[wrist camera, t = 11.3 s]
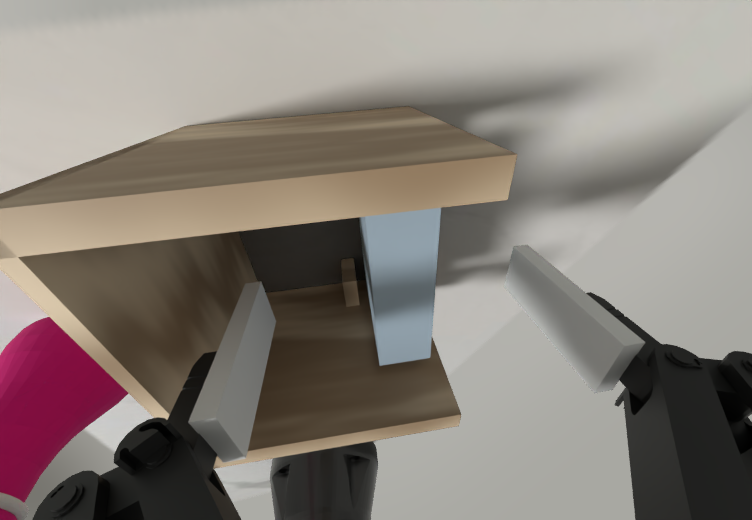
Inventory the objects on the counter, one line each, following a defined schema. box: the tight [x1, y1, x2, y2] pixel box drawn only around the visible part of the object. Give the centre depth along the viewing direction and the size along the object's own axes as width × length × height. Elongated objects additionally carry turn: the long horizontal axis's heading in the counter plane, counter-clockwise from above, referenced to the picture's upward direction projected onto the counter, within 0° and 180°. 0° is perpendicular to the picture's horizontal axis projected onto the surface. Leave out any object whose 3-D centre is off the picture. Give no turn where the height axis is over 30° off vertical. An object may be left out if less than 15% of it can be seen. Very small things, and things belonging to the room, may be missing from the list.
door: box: [359, 208, 441, 366], centre depth 17 cm, size 10×4×9 cm, turn 4°
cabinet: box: [0, 106, 517, 469], centre depth 16 cm, size 15×14×12 cm
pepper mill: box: [0, 317, 128, 520], centre depth 14 cm, size 7×7×20 cm
